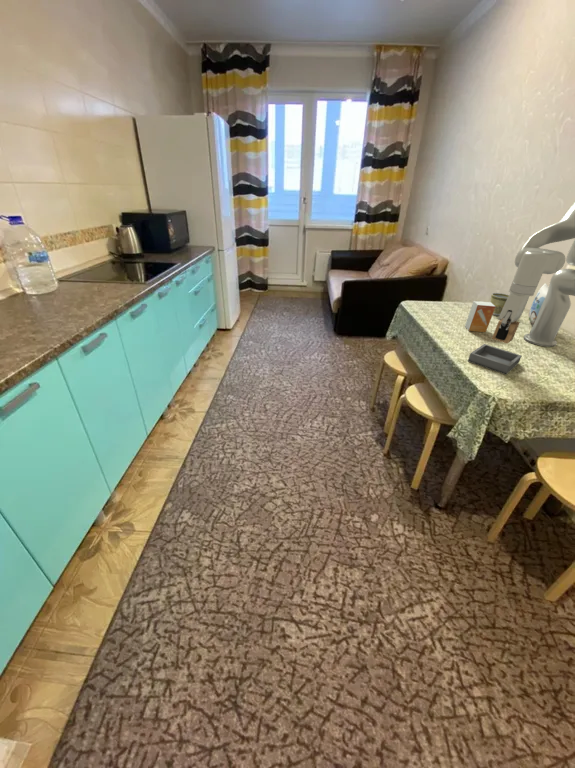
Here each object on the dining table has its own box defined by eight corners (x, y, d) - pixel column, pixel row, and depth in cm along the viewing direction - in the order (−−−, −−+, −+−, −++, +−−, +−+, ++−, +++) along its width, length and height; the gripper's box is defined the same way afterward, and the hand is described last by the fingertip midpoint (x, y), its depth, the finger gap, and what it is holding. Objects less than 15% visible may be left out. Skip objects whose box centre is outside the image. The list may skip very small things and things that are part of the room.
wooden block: (496, 335, 128) (503, 318, 124) (512, 339, 124) (519, 322, 121) (491, 338, 125) (498, 321, 121) (507, 343, 121) (515, 325, 118)
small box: (468, 331, 158) (477, 304, 151) (464, 326, 163) (473, 300, 156) (486, 332, 157) (496, 306, 150) (481, 327, 162) (491, 302, 155)
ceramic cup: (481, 311, 183) (487, 294, 178) (492, 309, 187) (499, 292, 182) (503, 319, 173) (511, 300, 168) (515, 316, 178) (522, 298, 172)
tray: (481, 351, 138) (484, 343, 136) (518, 363, 130) (521, 355, 128) (467, 361, 130) (470, 353, 128) (505, 374, 121) (509, 366, 120)
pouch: (539, 323, 171) (557, 284, 160) (546, 335, 156) (566, 294, 145) (522, 320, 173) (538, 282, 163) (526, 332, 158) (545, 291, 148)
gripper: (518, 283, 122) (500, 329, 131) (502, 290, 112) (483, 339, 121) (541, 287, 117) (521, 335, 127) (527, 295, 107) (505, 346, 117)
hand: (503, 336), depth 124 cm, fingers closed on wooden block, 5 cm apart
